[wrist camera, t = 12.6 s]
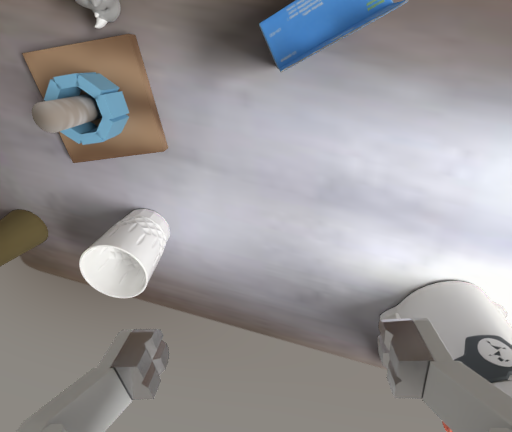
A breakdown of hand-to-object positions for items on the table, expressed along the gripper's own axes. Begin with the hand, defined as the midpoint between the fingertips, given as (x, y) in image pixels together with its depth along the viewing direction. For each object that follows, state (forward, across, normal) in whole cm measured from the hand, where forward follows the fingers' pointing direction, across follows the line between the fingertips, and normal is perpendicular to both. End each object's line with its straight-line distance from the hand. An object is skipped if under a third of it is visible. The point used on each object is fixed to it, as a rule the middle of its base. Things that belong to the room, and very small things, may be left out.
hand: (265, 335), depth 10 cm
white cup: (+27, +20, +9) cm, 35 cm away
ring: (+25, +19, -8) cm, 32 cm away
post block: (+26, +19, -8) cm, 34 cm away
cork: (+27, +38, +6) cm, 47 cm away
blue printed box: (+27, -5, -12) cm, 30 cm away
